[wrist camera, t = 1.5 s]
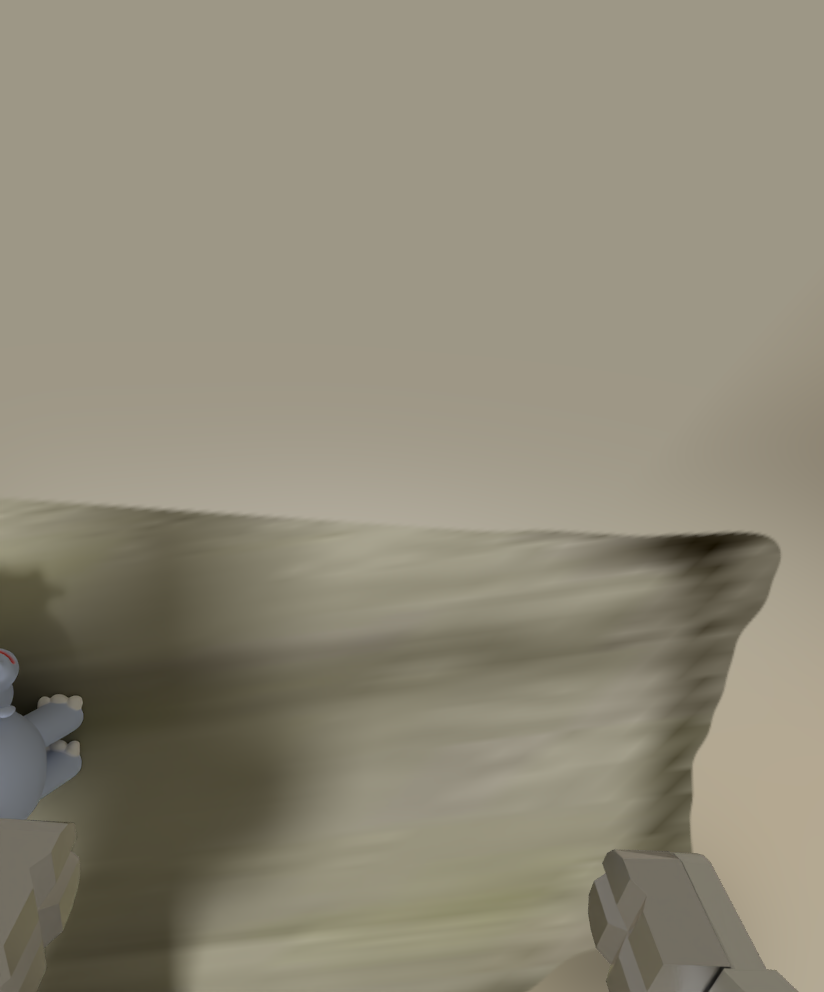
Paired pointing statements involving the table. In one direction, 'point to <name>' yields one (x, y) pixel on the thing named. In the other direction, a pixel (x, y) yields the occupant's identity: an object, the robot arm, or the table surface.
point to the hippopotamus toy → (34, 745)
